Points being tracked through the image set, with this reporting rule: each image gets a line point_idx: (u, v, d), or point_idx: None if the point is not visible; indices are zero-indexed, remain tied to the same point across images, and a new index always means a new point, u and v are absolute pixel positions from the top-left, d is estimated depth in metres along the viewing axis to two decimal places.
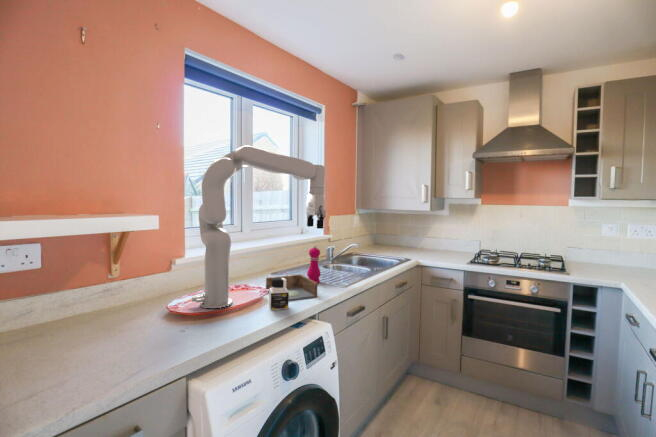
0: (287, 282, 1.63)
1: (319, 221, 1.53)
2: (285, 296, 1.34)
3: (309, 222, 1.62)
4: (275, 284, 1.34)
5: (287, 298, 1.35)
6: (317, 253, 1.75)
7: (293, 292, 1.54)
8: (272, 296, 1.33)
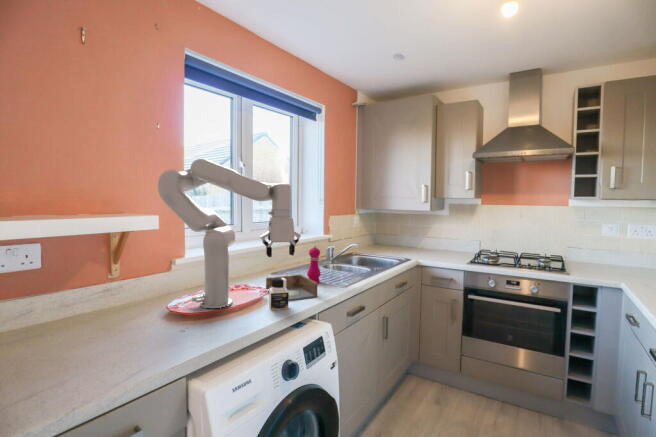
0: (287, 282, 1.63)
1: None
2: (285, 296, 1.34)
3: None
4: (275, 284, 1.34)
5: (287, 298, 1.35)
6: (317, 253, 1.75)
7: (293, 292, 1.54)
8: (272, 296, 1.33)
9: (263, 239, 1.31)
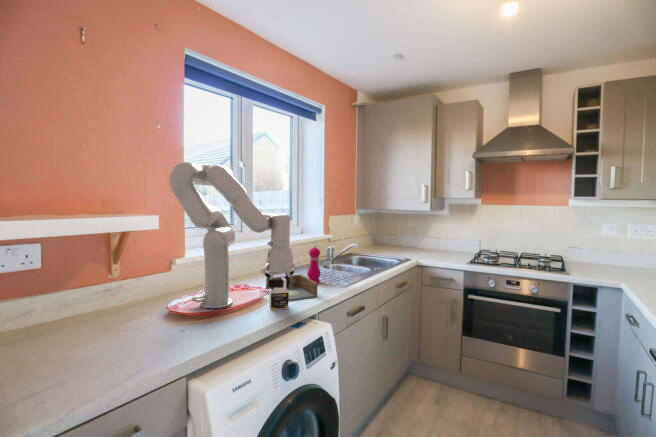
0: None
1: (289, 279, 1.38)
2: (285, 296, 1.34)
3: None
4: (275, 284, 1.34)
5: (287, 298, 1.35)
6: (317, 253, 1.75)
7: (293, 292, 1.54)
8: (272, 296, 1.33)
9: (264, 272, 1.33)
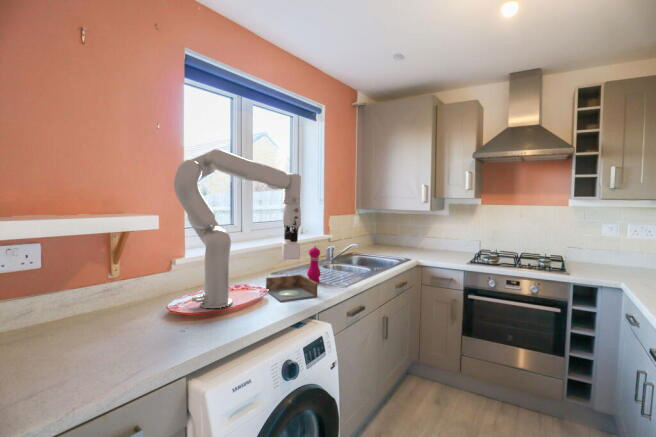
0: (287, 282, 1.63)
1: None
2: None
3: None
4: None
5: None
6: (317, 253, 1.75)
7: (293, 292, 1.54)
8: (299, 246, 1.50)
9: None
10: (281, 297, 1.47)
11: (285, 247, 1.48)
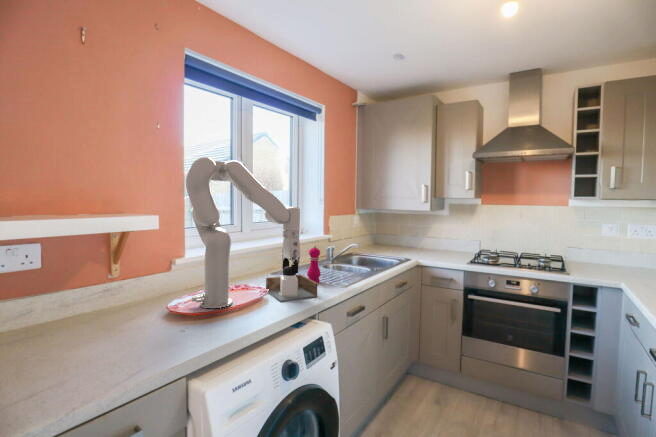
0: None
1: None
2: None
3: None
4: None
5: None
6: (317, 253, 1.75)
7: None
8: None
9: None
10: (281, 297, 1.47)
11: (283, 283, 1.49)
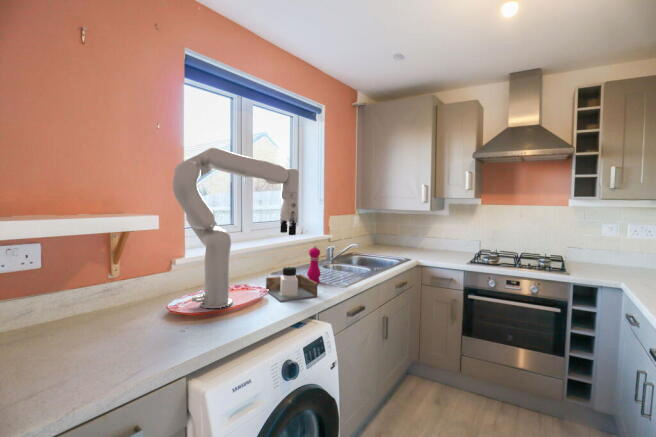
0: None
1: None
2: None
3: None
4: (295, 271, 1.52)
5: None
6: (317, 253, 1.75)
7: None
8: None
9: None
10: (281, 297, 1.47)
11: (283, 283, 1.49)
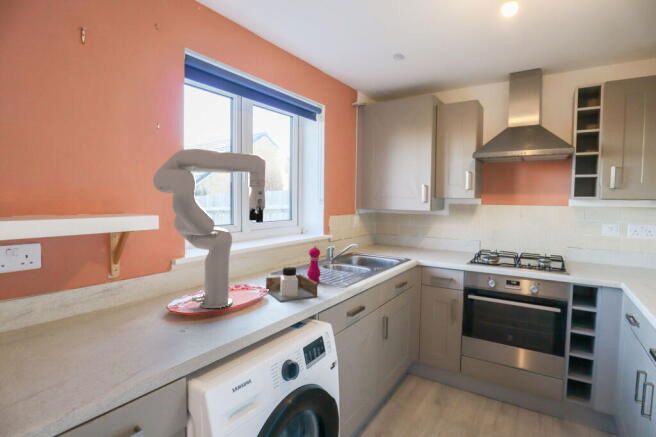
0: None
1: None
2: None
3: None
4: (295, 271, 1.52)
5: None
6: (317, 253, 1.75)
7: None
8: None
9: None
10: (281, 297, 1.47)
11: (283, 283, 1.49)
